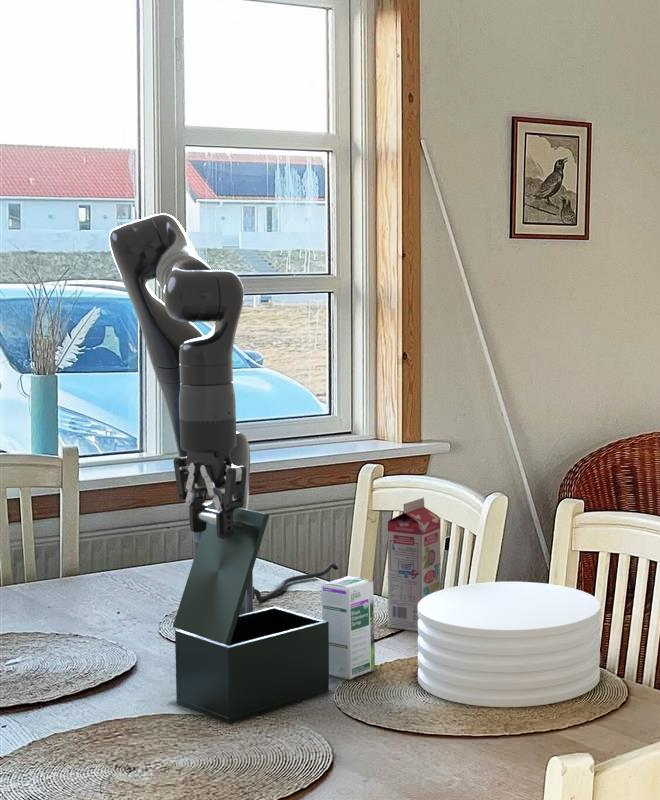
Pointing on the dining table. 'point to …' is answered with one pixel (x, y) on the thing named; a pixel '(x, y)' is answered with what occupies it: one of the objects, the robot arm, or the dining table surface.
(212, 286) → the robot arm
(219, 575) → the bin lid
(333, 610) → the syrup box
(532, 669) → the plate stack
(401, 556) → the juice carton
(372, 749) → the dining table surface
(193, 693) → the bin
